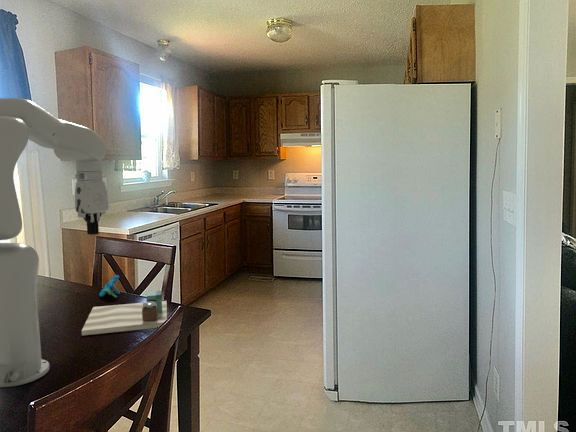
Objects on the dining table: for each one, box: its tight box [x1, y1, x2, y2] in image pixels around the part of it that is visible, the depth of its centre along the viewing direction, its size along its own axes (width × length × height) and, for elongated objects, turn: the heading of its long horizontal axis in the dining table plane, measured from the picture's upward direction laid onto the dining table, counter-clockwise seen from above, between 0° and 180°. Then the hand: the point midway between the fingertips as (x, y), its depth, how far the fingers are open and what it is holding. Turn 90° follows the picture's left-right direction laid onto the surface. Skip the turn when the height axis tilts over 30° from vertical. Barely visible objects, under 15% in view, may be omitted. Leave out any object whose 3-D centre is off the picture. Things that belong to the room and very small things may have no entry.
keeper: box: [146, 290, 163, 313], centre depth 144 cm, size 5×4×6 cm
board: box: [81, 300, 168, 336], centre depth 141 cm, size 22×24×2 cm
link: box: [142, 299, 158, 321], centre depth 143 cm, size 18×4×4 cm, turn 14°
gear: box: [98, 274, 121, 299], centre depth 167 cm, size 11×6×10 cm
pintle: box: [142, 301, 156, 309], centre depth 136 cm, size 4×4×5 cm
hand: (93, 233), depth 142 cm, fingers closed
